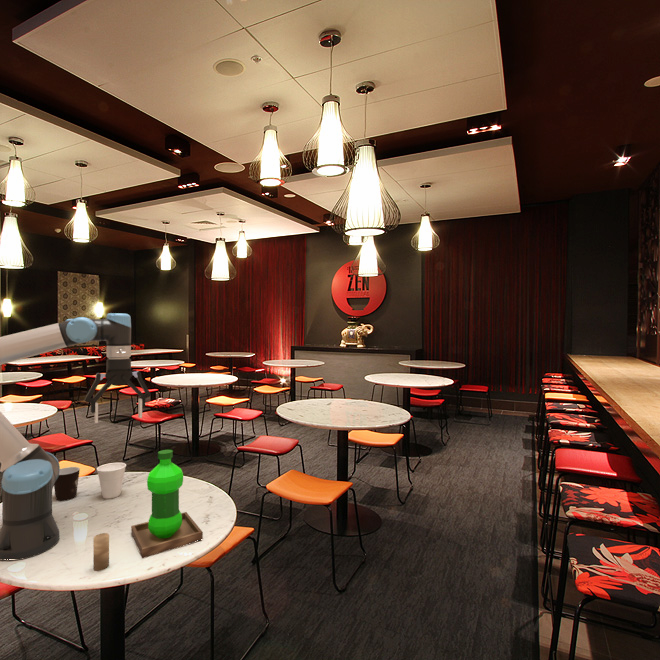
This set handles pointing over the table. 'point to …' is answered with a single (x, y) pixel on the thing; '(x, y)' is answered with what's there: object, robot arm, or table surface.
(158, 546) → the tray
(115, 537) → the table surface
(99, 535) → the peg
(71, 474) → the coffee mug
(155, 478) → the plastic bottle
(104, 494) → the cup
